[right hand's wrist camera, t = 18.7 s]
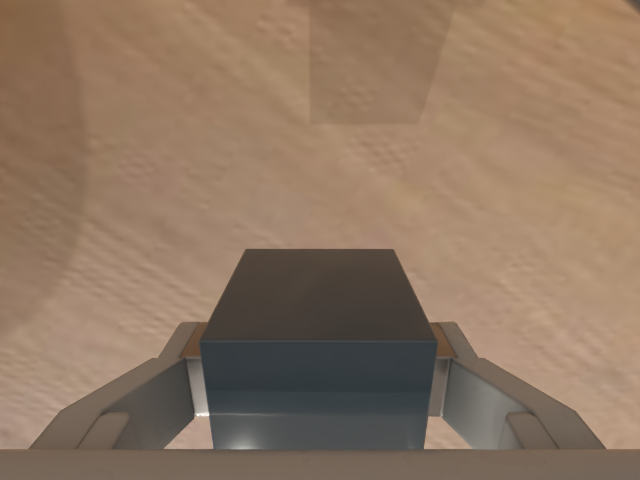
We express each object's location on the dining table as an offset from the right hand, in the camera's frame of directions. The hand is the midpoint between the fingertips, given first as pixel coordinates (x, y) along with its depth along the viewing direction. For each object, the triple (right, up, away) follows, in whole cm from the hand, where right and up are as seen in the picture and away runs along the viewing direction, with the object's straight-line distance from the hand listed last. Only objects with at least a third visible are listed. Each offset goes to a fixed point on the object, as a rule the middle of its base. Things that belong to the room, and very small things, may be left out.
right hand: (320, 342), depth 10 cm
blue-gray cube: (0, 0, +2) cm, 2 cm away
